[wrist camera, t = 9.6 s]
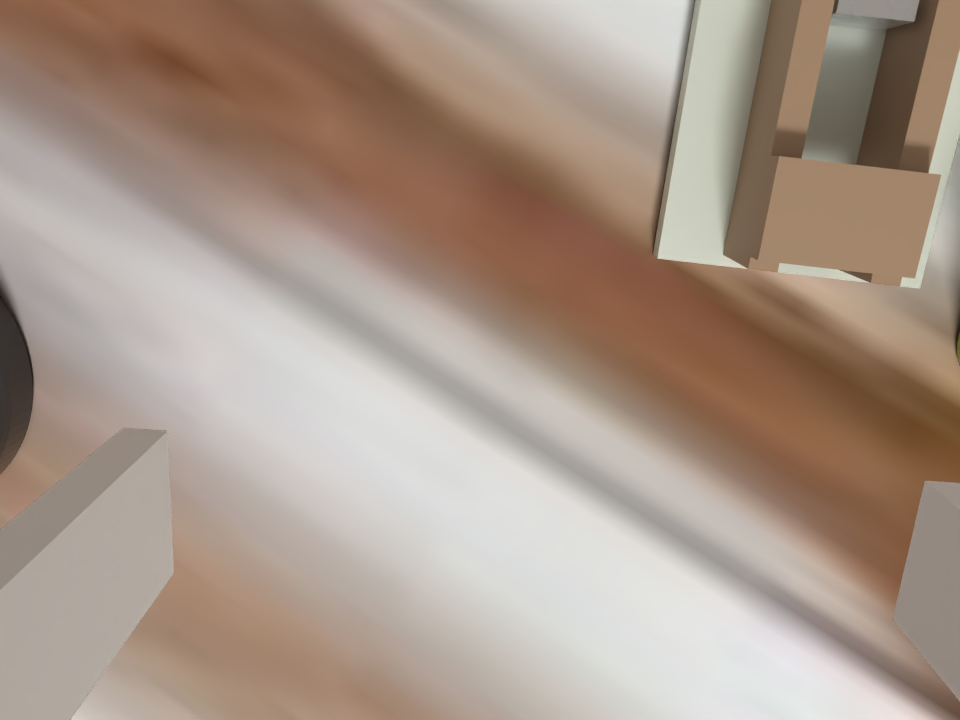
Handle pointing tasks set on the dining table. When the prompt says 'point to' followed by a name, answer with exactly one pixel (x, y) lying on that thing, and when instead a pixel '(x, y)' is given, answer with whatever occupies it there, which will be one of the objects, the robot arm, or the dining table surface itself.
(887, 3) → the slide bar
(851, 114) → the board
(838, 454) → the dining table surface
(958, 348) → the plant pot
